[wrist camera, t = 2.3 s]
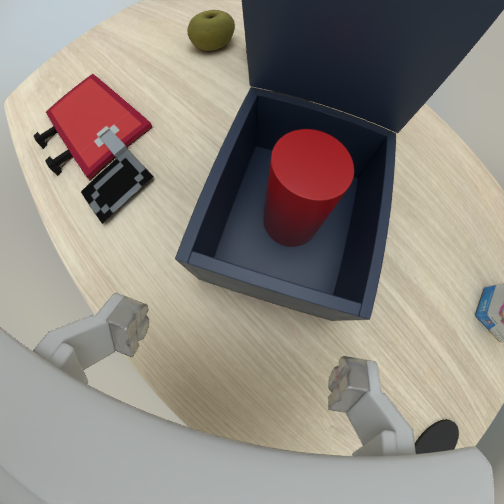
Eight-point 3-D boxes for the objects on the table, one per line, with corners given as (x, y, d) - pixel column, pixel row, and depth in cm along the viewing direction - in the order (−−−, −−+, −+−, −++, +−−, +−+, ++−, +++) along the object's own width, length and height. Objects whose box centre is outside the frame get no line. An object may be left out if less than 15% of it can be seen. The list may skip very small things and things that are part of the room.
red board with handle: (95, 237, 31) (184, 157, 33) (84, 229, 28) (180, 144, 31) (34, 130, 36) (95, 78, 39) (27, 121, 33) (90, 68, 36)
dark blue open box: (332, 320, 29) (370, 319, 19) (198, 279, 30) (174, 259, 20) (363, 178, 33) (396, 133, 23) (250, 142, 34) (250, 86, 24)
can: (282, 257, 29) (303, 215, 18) (252, 210, 30) (254, 147, 19) (328, 229, 30) (369, 178, 18) (298, 186, 31) (321, 119, 20)
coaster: (418, 481, 23) (420, 482, 22) (402, 449, 25) (404, 451, 24) (461, 442, 24) (463, 443, 23) (448, 407, 26) (451, 408, 25)
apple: (243, 47, 39) (242, 16, 32) (201, 62, 38) (196, 29, 31) (223, 32, 41) (220, 3, 34) (184, 45, 39) (178, 15, 33)
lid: (510, 1, 4) (487, -28, 4) (230, -93, 5) (258, -103, 5) (397, 133, 23) (400, 98, 23) (249, 86, 24) (263, 54, 24)
